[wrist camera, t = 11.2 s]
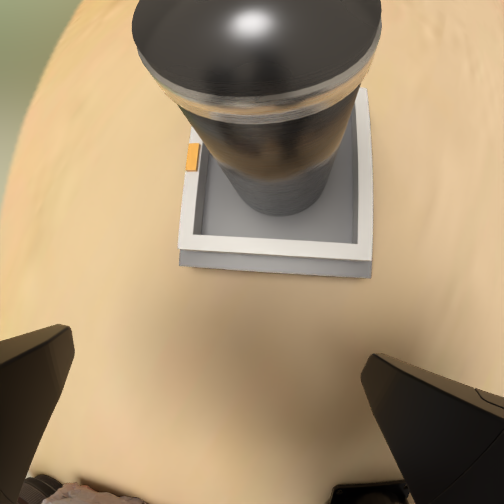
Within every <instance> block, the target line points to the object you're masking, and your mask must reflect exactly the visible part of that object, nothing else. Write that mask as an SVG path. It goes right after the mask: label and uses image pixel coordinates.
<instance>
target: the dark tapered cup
mask: <svg viewBox="0 0 504 504" xmlns="http://www.w3.org/2000/svg"><path fill="white" fill-rule="evenodd" d="M381 28H382V23H381V1H380V0H140V1H139V3H138V5H137V7H136V9H135V12H134V15H133V20H132V34H133V39H134V41H135V44H136V46H137V49H138V54H139V56H140V58H141V60H142V63H143V64H144V66H145V67H146V68H147V70H148V71H149V72H150V74H151V75H152V77H153V78H154V79H155V81H156V82H157V83H158V85H159V86H160V87H161V89H162V90H163V91H164V93H165V94H166V95H167V96H168V97H169V98H170V99H171V100H172V101H174V102H175V103H176V104H177V105H178V106H179V108H180V109H181V111H182V112H183V114H184V115H185V116H186V118H187V119H188V121H189V122H190V124H191V125H192V127H193V128H194V130H195V131H196V132H197V134H198V135H199V137H200V138H201V140H202V141H203V143H204V144H205V146H206V147H207V149H208V150H209V152H210V153H211V154H212V156H213V157H214V159H215V160H216V162H217V163H218V165H219V166H220V168H221V169H222V171H223V172H224V174H225V175H226V177H227V178H228V180H229V181H230V183H231V184H232V186H233V187H234V189H235V190H236V192H237V193H238V195H239V196H240V197H241V199H242V200H243V201H244V202H245V203H246V204H247V205H248V206H250V207H251V208H253V209H254V210H256V211H258V212H260V213H262V214H266V215H270V216H281V217H282V216H290V215H294V214H297V213H300V212H302V211H304V210H306V209H307V208H309V207H310V206H311V205H312V204H314V203H315V202H316V201H317V199H318V198H319V197H320V196H321V194H322V192H323V190H324V188H325V186H326V183H327V180H328V178H329V175H330V172H331V169H332V167H333V164H334V161H335V158H336V155H337V152H338V150H339V147H340V144H341V141H342V138H343V135H344V132H345V130H346V127H347V124H348V121H349V118H350V115H351V112H352V109H353V106H354V103H355V100H356V97H357V94H358V91H359V88H360V84H361V82H362V81H363V79H364V77H365V76H366V74H367V73H368V71H369V68H370V66H371V63H372V60H373V57H374V54H375V51H376V48H377V45H378V42H379V39H380V35H381Z"/></svg>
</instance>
